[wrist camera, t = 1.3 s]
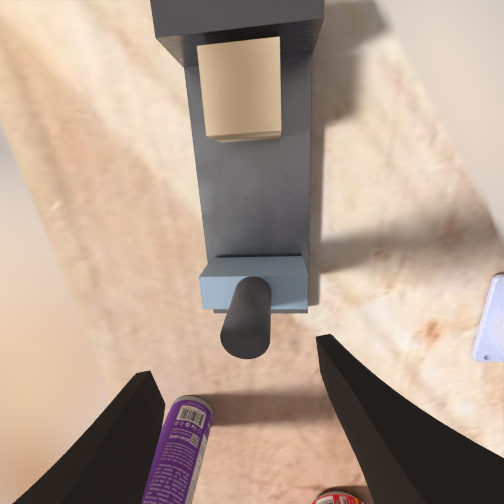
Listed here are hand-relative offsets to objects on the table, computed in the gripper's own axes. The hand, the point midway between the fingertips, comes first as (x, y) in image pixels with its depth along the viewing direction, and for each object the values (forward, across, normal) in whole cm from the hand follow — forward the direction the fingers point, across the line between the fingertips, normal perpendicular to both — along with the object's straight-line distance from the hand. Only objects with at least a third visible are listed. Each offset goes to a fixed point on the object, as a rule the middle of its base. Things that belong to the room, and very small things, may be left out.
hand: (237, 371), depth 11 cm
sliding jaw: (+10, -2, 0) cm, 10 cm away
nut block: (+10, -3, -11) cm, 16 cm away
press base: (+11, -3, -6) cm, 13 cm away
